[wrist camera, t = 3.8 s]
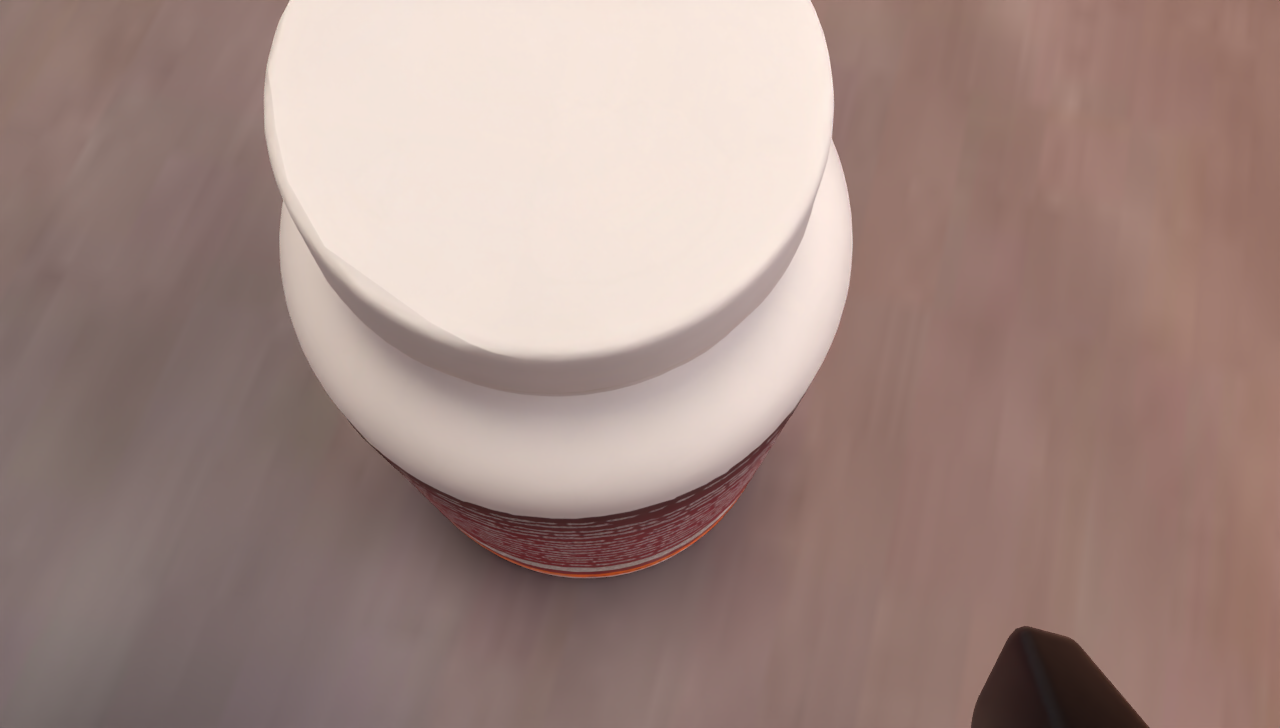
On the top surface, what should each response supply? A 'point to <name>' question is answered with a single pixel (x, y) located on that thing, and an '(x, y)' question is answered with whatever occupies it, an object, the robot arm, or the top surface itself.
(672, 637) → the top surface
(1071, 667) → the robot arm
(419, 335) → the pill bottle
